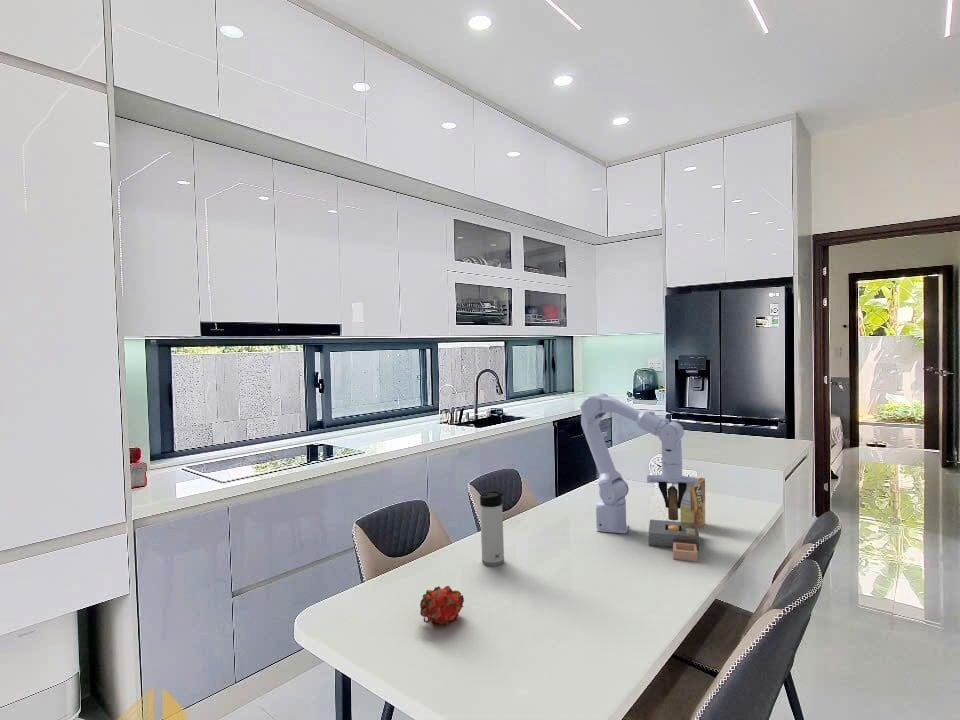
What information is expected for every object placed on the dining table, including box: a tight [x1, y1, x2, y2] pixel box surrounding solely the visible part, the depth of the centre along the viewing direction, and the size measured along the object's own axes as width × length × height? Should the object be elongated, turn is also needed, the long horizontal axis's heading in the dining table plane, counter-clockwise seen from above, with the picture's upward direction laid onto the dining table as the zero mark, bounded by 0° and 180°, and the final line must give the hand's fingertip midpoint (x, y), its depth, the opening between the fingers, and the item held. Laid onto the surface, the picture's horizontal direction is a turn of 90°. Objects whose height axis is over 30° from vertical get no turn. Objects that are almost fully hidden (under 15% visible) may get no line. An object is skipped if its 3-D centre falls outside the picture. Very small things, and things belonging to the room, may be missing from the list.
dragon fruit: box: [419, 585, 465, 627], centre depth 120 cm, size 8×8×12 cm
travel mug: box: [479, 490, 505, 567], centre depth 151 cm, size 6×7×20 cm
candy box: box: [679, 476, 706, 528], centre depth 174 cm, size 9×4×15 cm, turn 129°
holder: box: [672, 542, 698, 563], centre depth 150 cm, size 6×6×2 cm
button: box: [668, 525, 679, 531], centre depth 162 cm, size 3×3×1 cm
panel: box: [648, 519, 701, 552], centre depth 162 cm, size 14×12×4 cm
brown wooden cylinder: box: [667, 485, 679, 521], centre depth 161 cm, size 3×3×10 cm
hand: (672, 507), depth 162 cm, fingers closed on brown wooden cylinder, 3 cm apart
